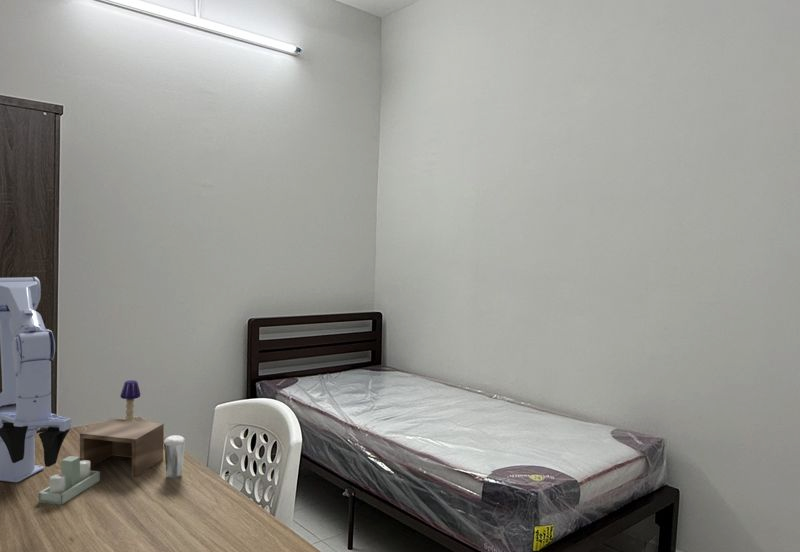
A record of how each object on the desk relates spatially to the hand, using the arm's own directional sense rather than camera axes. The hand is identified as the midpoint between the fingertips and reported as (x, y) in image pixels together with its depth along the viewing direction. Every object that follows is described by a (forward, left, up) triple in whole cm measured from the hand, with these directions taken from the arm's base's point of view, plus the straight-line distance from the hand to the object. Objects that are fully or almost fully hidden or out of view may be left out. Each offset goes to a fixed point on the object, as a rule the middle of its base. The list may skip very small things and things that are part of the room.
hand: (34, 462), depth 112 cm
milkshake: (+17, +22, -10) cm, 30 cm away
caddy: (0, +10, -10) cm, 14 cm away
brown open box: (+2, +25, -10) cm, 27 cm away
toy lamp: (-4, +36, -10) cm, 38 cm away
